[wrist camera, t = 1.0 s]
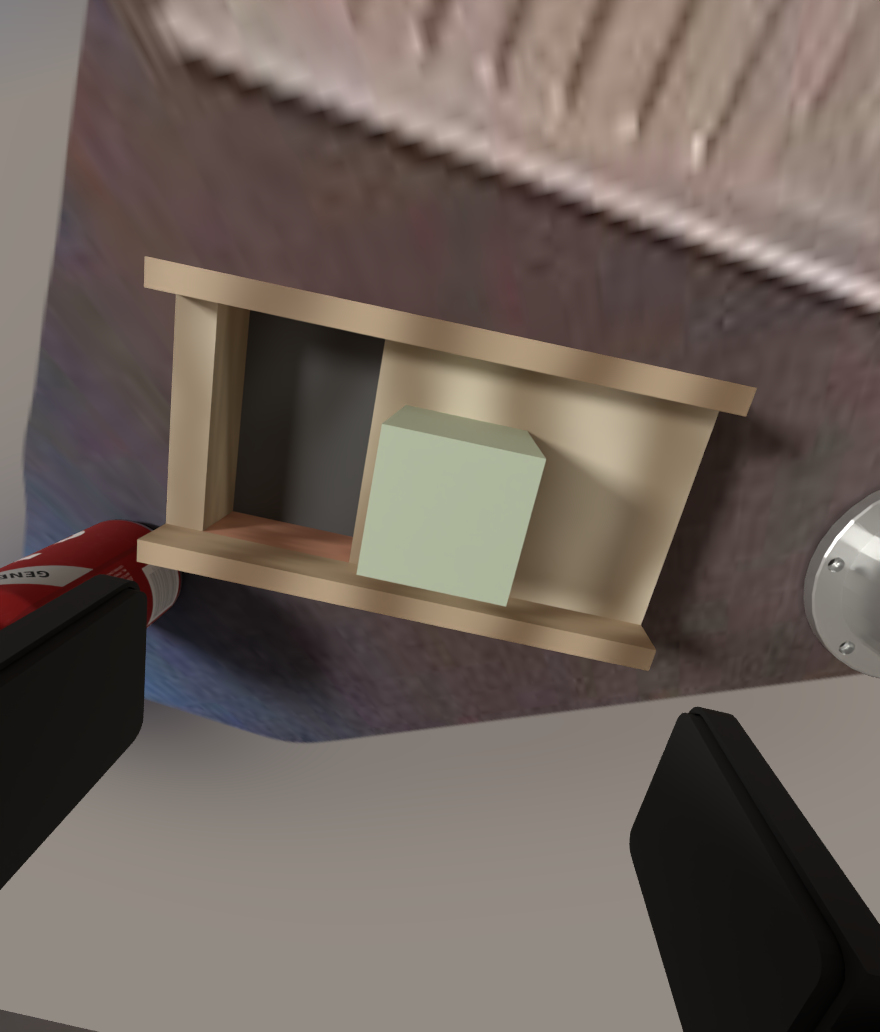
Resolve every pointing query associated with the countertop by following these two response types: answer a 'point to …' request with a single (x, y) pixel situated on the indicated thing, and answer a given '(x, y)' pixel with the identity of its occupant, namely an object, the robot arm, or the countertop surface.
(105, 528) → the soda can
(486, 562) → the sage block
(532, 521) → the channel track
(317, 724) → the countertop surface
